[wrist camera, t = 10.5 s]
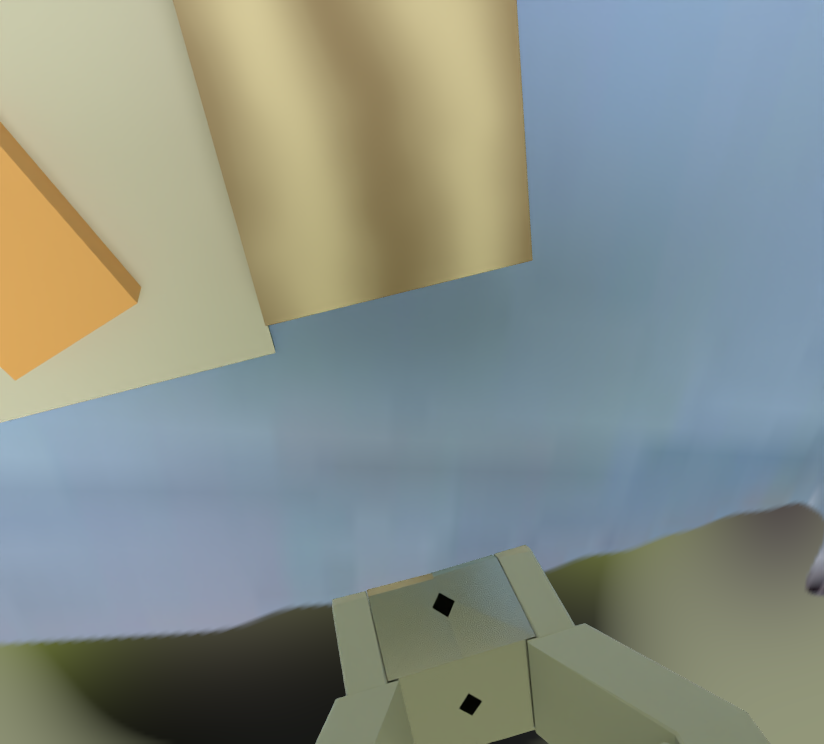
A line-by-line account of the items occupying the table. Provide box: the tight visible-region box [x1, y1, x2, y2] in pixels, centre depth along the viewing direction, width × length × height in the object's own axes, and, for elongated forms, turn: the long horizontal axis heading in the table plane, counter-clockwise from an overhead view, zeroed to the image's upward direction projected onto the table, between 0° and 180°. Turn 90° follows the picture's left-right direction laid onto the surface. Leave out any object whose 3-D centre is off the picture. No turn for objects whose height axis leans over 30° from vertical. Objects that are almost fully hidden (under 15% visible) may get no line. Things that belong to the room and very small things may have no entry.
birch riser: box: [173, 0, 532, 326], centre depth 27 cm, size 12×14×4 cm
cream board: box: [0, 0, 275, 423], centre depth 26 cm, size 16×20×1 cm
